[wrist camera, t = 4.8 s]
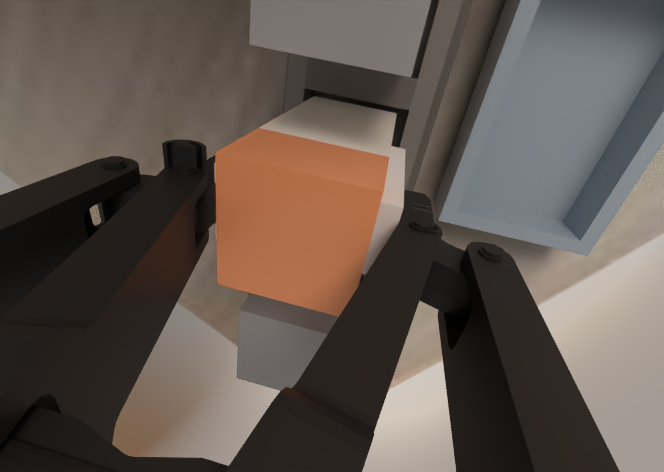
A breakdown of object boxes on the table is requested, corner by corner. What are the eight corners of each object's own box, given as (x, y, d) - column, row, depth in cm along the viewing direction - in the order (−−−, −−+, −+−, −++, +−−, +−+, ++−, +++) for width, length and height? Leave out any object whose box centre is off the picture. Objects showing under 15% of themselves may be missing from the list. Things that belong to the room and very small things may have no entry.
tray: (527, -60, 16) (551, -82, 13) (721, -28, 15) (788, -44, 13) (434, 200, 23) (438, 220, 20) (565, 230, 22) (587, 255, 19)
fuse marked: (314, 95, 18) (215, 152, 9) (396, 113, 18) (383, 191, 9) (304, 174, 21) (217, 284, 11) (376, 191, 20) (349, 319, 11)
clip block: (309, -110, 17) (291, -139, 14) (494, -80, 16) (512, -105, 13) (273, 263, 28) (259, 285, 25) (380, 290, 27) (377, 316, 25)
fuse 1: (306, 205, 24) (239, 310, 14) (368, 221, 23) (342, 338, 14) (298, 258, 26) (236, 377, 17) (355, 272, 26) (325, 403, 16)
